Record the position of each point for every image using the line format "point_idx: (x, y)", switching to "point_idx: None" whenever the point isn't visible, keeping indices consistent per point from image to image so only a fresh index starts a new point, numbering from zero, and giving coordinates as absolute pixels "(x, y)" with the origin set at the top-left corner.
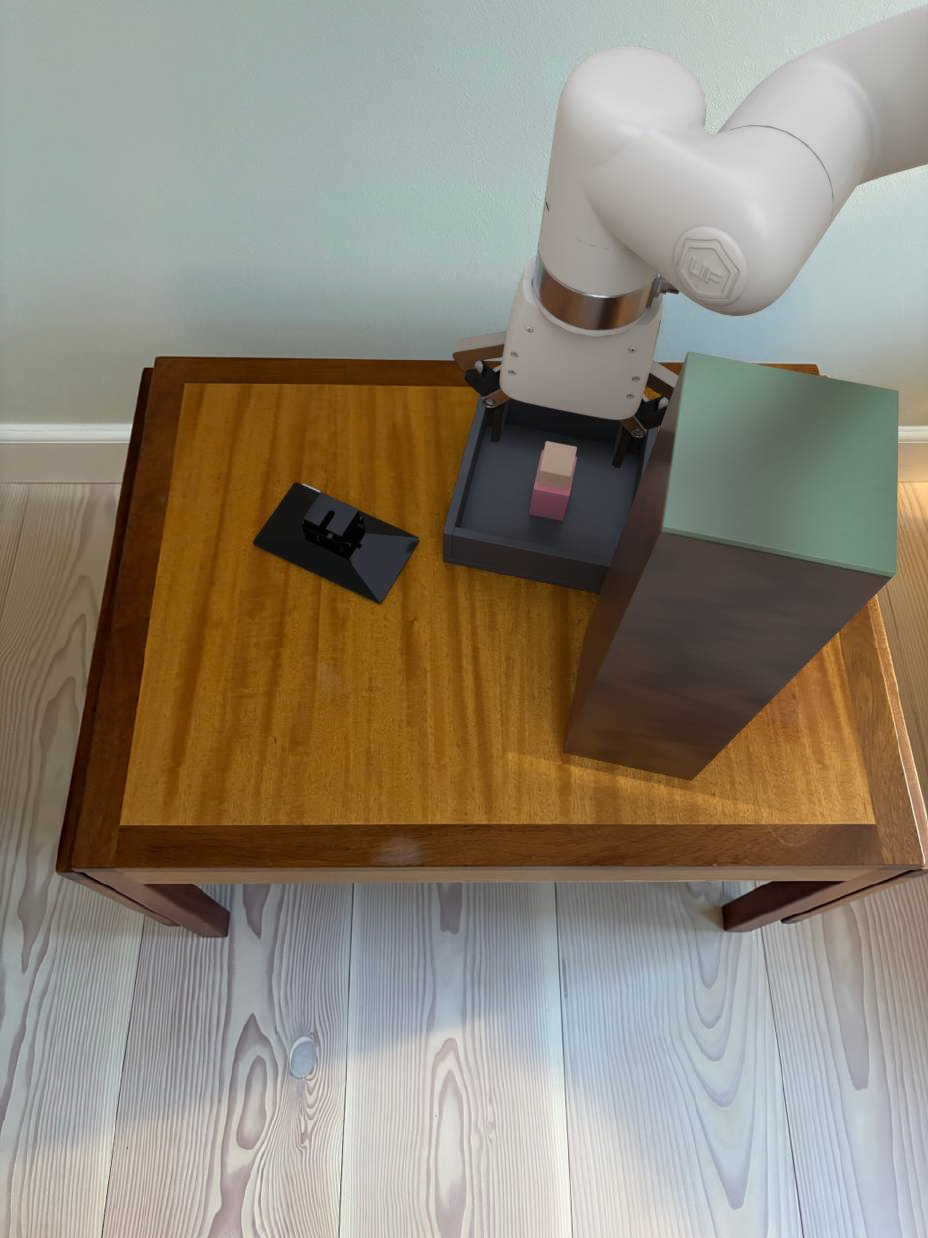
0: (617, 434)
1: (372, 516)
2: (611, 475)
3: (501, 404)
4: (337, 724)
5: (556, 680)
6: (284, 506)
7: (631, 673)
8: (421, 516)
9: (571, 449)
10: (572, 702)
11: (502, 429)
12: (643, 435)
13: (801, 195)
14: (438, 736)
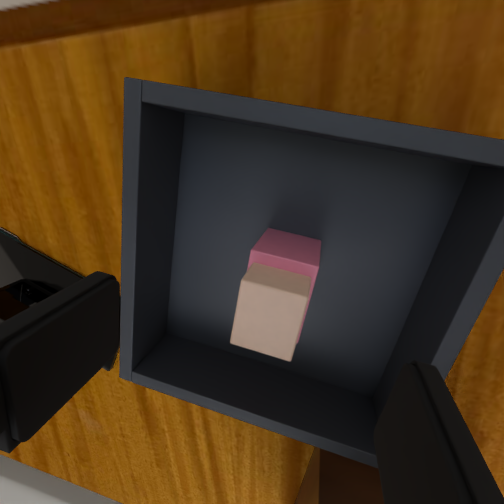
0: (407, 375)
1: (75, 275)
2: (397, 225)
3: (2, 430)
4: (105, 454)
5: (287, 462)
6: None
7: None
8: None
9: (295, 303)
10: (300, 492)
11: (112, 330)
12: None
13: None
14: (182, 479)
